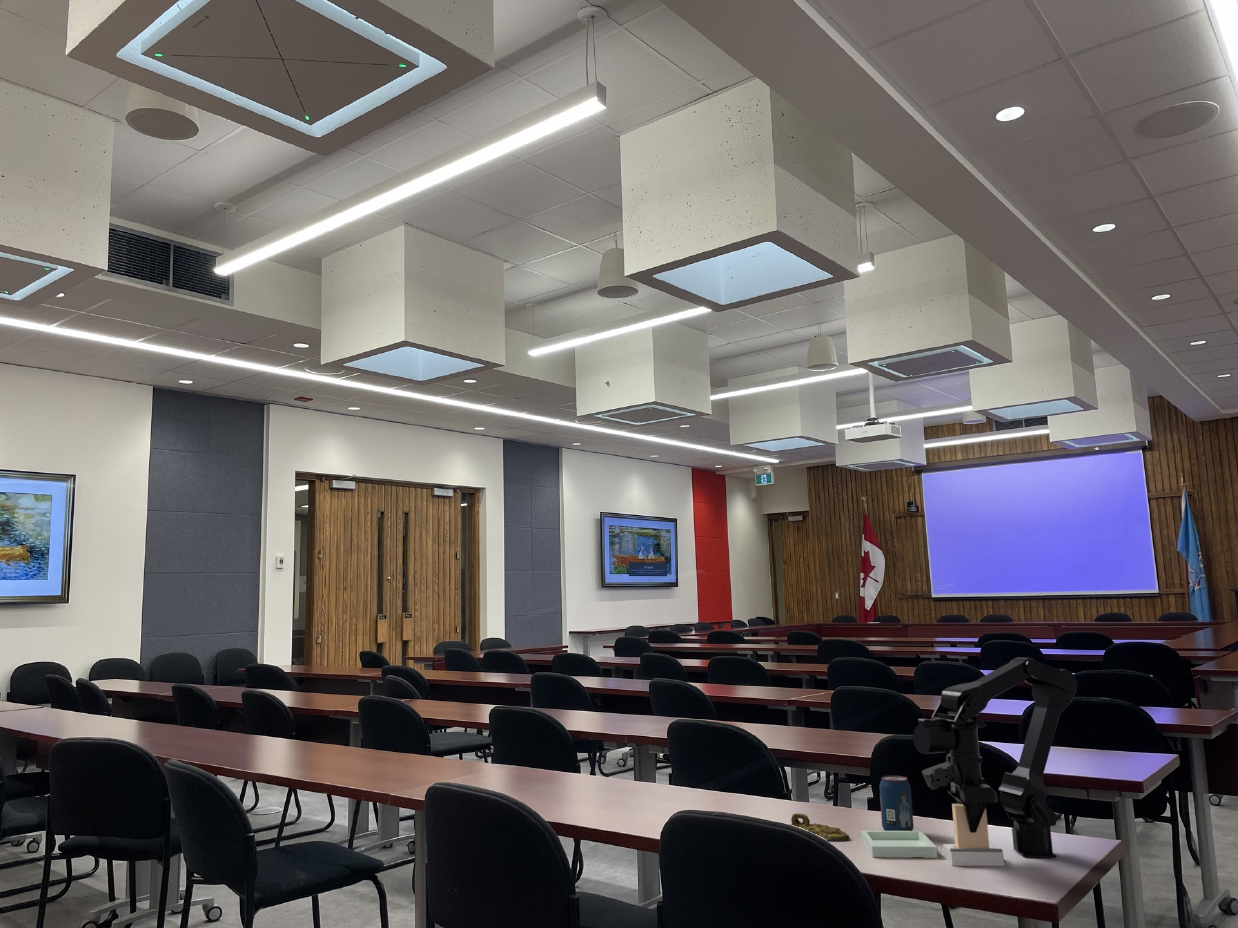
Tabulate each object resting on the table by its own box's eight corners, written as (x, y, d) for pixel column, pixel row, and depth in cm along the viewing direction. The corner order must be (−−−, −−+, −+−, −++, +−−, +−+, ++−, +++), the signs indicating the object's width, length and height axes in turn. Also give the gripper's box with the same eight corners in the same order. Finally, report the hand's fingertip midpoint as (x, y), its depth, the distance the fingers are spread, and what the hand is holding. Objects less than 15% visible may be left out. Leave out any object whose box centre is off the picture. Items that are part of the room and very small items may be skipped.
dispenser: (994, 857, 177) (992, 841, 177) (1004, 865, 171) (1003, 849, 171) (944, 856, 178) (942, 841, 178) (952, 865, 172) (951, 849, 172)
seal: (858, 842, 195) (799, 831, 205) (858, 819, 196) (799, 810, 206) (840, 846, 188) (779, 835, 198) (840, 823, 189) (780, 813, 199)
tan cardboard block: (986, 850, 175) (982, 803, 177) (989, 853, 173) (985, 806, 174) (955, 849, 176) (951, 803, 177) (959, 853, 173) (955, 806, 175)
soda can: (890, 827, 202) (886, 773, 204) (918, 831, 198) (914, 776, 200) (877, 833, 197) (873, 778, 199) (906, 837, 193) (902, 781, 195)
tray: (921, 840, 190) (921, 830, 190) (937, 857, 177) (936, 846, 177) (861, 840, 191) (860, 830, 191) (872, 856, 178) (871, 846, 179)
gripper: (913, 743, 188) (919, 819, 185) (935, 758, 169) (942, 842, 167) (966, 743, 187) (972, 819, 184) (994, 758, 168) (1002, 842, 166)
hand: (970, 830), depth 175 cm, fingers closed on tan cardboard block, 2 cm apart
